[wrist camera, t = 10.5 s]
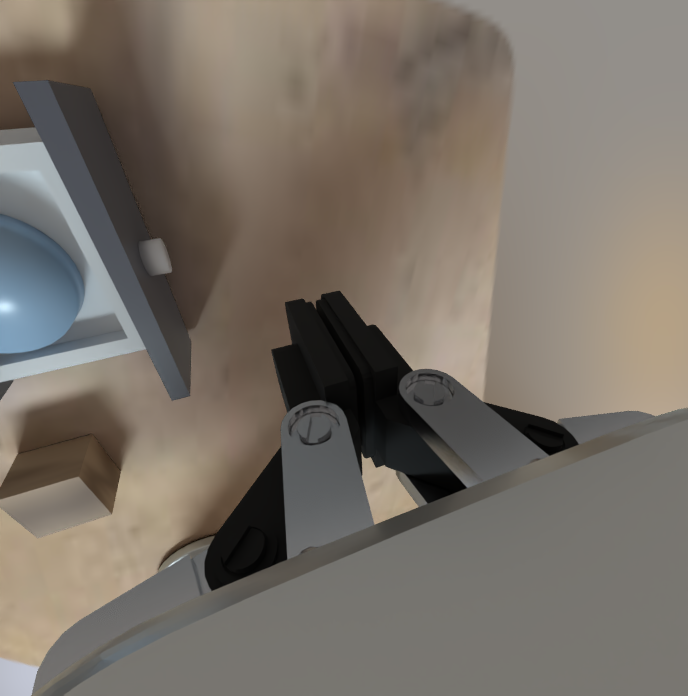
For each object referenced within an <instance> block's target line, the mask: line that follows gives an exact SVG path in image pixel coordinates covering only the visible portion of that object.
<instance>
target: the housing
mask: <svg viewBox="0 0 688 696" xmlns="http://www.w3.org/2000/svg"><path fill="white" fill-rule="evenodd" d="M12 382H13V380H9V381H4V382H0V400H1V399H2V397H3V396H4V394H5V393H6V391H7V390H8V388H9V387H10V385H11V384H12Z"/></svg>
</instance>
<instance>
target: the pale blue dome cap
mask: <svg viewBox="0 0 688 696" xmlns="http://www.w3.org/2000/svg"><path fill="white" fill-rule="evenodd" d="M83 302H84V284H83V280H82V277H81V274H80V272H79V270H78V268H77V266H76V264H75V263H74V262H73V260H72V259H71V257H70V256H69V255H68V254H67V253H66V252H65V250H64V249H63V248H62V247H61V246H59V245H58V244H57V243H56V242H55V241H54V240H53V239H51V238H50V237H48V236H47V235H46V234H44V233H43V232H41V231H39V230H38V229H36V228H35V227H33V226H31V225H29V224H27V223H25V222H23V221H20V220H18V219H15V218H12V217H10V216H7V215H3V214H0V353H21V352H28V351H33V350H37V349H40V348H43V347H45V346H48V345H50V344H52V343H54V342H55V341H57V340H58V339H60V338H61V337H62V336H63V335H64V334H65V333H66V332H67V331H68V330H69V328H70V327H71V325H72V323H73V322H74V320H75V318H76V317H77V315H78V313H79V312H80V310H81V308H82V305H83Z"/></svg>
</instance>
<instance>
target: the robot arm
mask: <svg viewBox="0 0 688 696" xmlns="http://www.w3.org/2000/svg"><path fill="white" fill-rule="evenodd" d="M285 307H286V313H287V318H288V324H289V329H290V334H291V340H292V345H288V346H284V347H280V348H276V349H272V350H271V351H272V356H273V360H274V365H275V369H276V373H277V377H278V381H279V385H280V389H281V392H282V396H283V399H284V403H285V406H286V410H287V414H286V415H285V417H284V419H283V421H282V424H281V447H280V449H279V450H278V451H277V453H276V454H275V455H274V457H273V458H272V459H271V461H270V462H269V464H268V465H267V466H266V468H265V469H264V470H263V472H262V473H261V474H260V476H259V477H258V478H257V480H256V481H255V482H254V484H253V485H252V487H251V488H250V489H249V491H248V492H247V493H246V495H245V496H244V497H243V499H242V500H241V501H240V503H239V504H238V505H237V507H236V508H235V510H234V511H233V512H232V514H231V515H230V516H229V518H228V519H227V520H226V522H225V523H224V524H223V526H222V527H221V528H220V530H219V531H218V533H217V534H216V535H215V536H211V537H207V538H204V539H201V540H198V541H196V542H193V543H191V544H189V545H187V546H185V547H183V548H181V549H179V550H178V551H177V552H175V553H174V554H172V555H171V556H170V557H169V558H168V559H167V560H166V561H165V562H164V563H163V564H162V565H161V567H160V568H159V570H158V573H157V574H156V575H154V576H152V577H151V578H149V579H147V580H146V581H144V582H142V583H141V584H139V585H137V586H136V587H134V588H132V589H131V590H129V591H127V592H126V593H124V594H122V595H121V596H119V597H117V598H116V599H114V600H112V601H111V602H109V603H107V604H106V605H104V606H103V607H101V608H99V609H98V610H96V611H94V612H93V613H91V614H89V615H88V616H86V617H84V618H83V619H81V620H79V621H78V622H77V623H76V624H74V625H73V626H72V627H70V628H69V629H68V630H67V631H65V632H64V633H63V634H62V635H61V636H60V638H59V639H58V640H57V641H56V642H55V644H54V645H53V646H52V647H51V648H50V650H49V651H48V653H47V654H46V656H45V658H44V660H43V662H42V664H41V666H40V667H39V669H38V671H37V675H36V679H35V683H34V687H33V693H32V695H31V696H688V408H684V409H678V410H675V411H672V412H668V413H665V414H662V415H658V416H653V415H651V414H647V413H643V412H639V411H624V412H616V413H607V414H598V415H590V416H582V417H572V418H564V419H559V420H558V422H557V423H556V422H554V421H551V420H548V419H546V418H543V417H539V416H535V415H531V414H527V413H524V412H520V411H516V410H512V409H508V408H504V407H500V406H497V405H493V404H489V403H485V402H482V401H481V400H480V399H479V398H477V397H476V396H475V395H474V394H473V393H471V392H470V391H469V390H468V389H466V388H465V387H464V386H463V385H461V384H460V383H459V382H458V381H457V380H455V379H454V378H453V377H451V376H449V375H448V374H446V373H444V372H441V371H438V370H432V369H419V370H415V371H413V370H412V369H411V368H410V366H409V365H408V364H407V363H406V362H405V360H404V359H403V358H402V357H401V355H400V354H399V353H398V352H397V350H396V349H395V348H394V347H393V346H392V344H391V343H390V342H389V341H388V339H387V338H386V337H385V336H384V335H383V333H382V332H381V331H380V330H379V328H378V327H377V326H376V325H369V326H367V325H366V324H365V323H364V321H363V320H362V319H361V318H360V316H359V315H358V314H357V312H356V311H355V310H354V308H353V307H352V306H351V305H350V303H349V302H348V301H347V299H346V298H345V297H344V296H343V294H342V293H341V292H340V291H336V292H331V293H326V294H322V295H321V300H316V309H317V311H316V309H315V307H314V305H313V304H312V302H307V303H306V302H305V300H304V299H299V300H294V301H289V302H285ZM361 452H362V454H363V456H364V458H369V457H371V458H372V460H373V462H374V465H375V467H376V468H377V467H380V466H382V465H385V466H386V467H388V468H391V469H394V470H396V475H397V477H398V479H399V481H400V482H401V483H402V485H403V486H404V487H405V489H406V490H407V491H408V493H409V494H410V496H411V497H412V498H413V500H414V501H415V502H416V504H417V505H418V506H419V507H418V508H416V509H413V510H411V511H408V512H406V513H403V514H401V515H398V516H396V517H393V518H391V519H388V520H386V521H383V522H381V523H378V524H376V525H374V522H373V518H372V514H371V510H370V506H369V503H368V499H367V495H366V491H365V487H364V484H363V480H362V456H361Z"/></svg>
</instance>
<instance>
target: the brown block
mask: <svg viewBox="0 0 688 696" xmlns="http://www.w3.org/2000/svg"><path fill="white" fill-rule="evenodd" d="M120 473H121V472H120V470H119V469H118V468H117V466H116V465H115V464H114V462H113V461H112V460H111V458H110V457H109V456H108V454H107V453H106V452H105V450H104V449H103V448H102V446H101V445H100V444H99V442H98V441H97V440H96V438H95V437H94V436H93V434H90V435H87V436H83V437H79V438H76V439H72V440H68V441H65V442H61V443H57V444H54V445H50V446H46V447H43V448H39V449H35V450H32V451H28V452H24V453H21V454H18V455H17V456H16V458H15V460H14V462H13V464H12V466H11V468H10V470H9V472H8V474H7V476H6V478H5V480H4V482H3V483H2V485H1V487H0V508H1V509H2V510H4V511H5V512H6V513H7V514H9V515H10V516H11V517H12V518H13V519H15V520H16V521H17V522H18V523H20V524H21V525H22V526H23V527H25V528H26V529H27V530H28V531H29V532H31V533H32V534H33V535H34V536H36V537H37V538H40V537H43V536H46V535H50V534H53V533H56V532H59V531H62V530H65V529H68V528H71V527H74V526H77V525H80V524H83V523H86V522H90V521H93V520H96V519H99V518H102V517H105V516H108V515H111V514H112V511H113V507H114V502H115V497H116V492H117V488H118V483H119V478H120Z"/></svg>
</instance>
